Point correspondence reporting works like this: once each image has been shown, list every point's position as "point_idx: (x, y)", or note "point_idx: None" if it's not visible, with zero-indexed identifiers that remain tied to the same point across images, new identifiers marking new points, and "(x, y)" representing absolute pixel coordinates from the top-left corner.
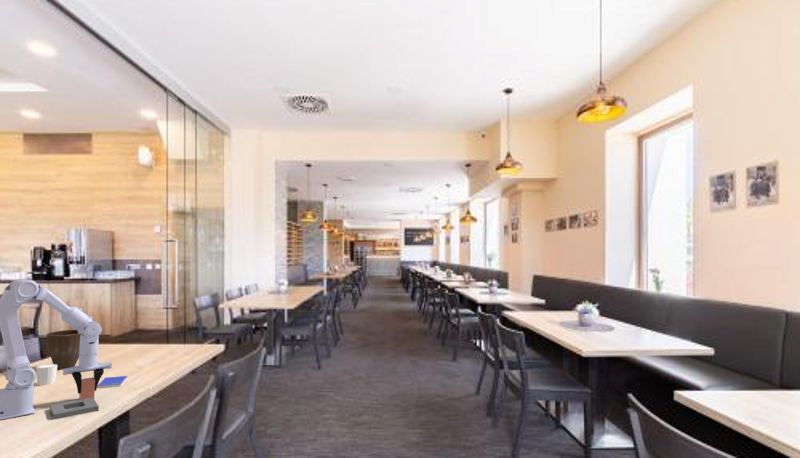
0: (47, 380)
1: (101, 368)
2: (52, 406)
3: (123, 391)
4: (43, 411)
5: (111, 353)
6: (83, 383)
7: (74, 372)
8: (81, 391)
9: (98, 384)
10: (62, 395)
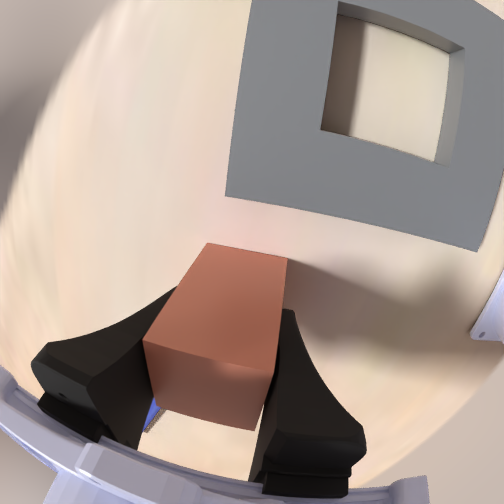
0: None
1: (53, 418)
2: (488, 202)
3: (69, 260)
4: (489, 231)
5: None
6: (259, 348)
7: (326, 496)
8: (280, 301)
9: (157, 409)
10: None
